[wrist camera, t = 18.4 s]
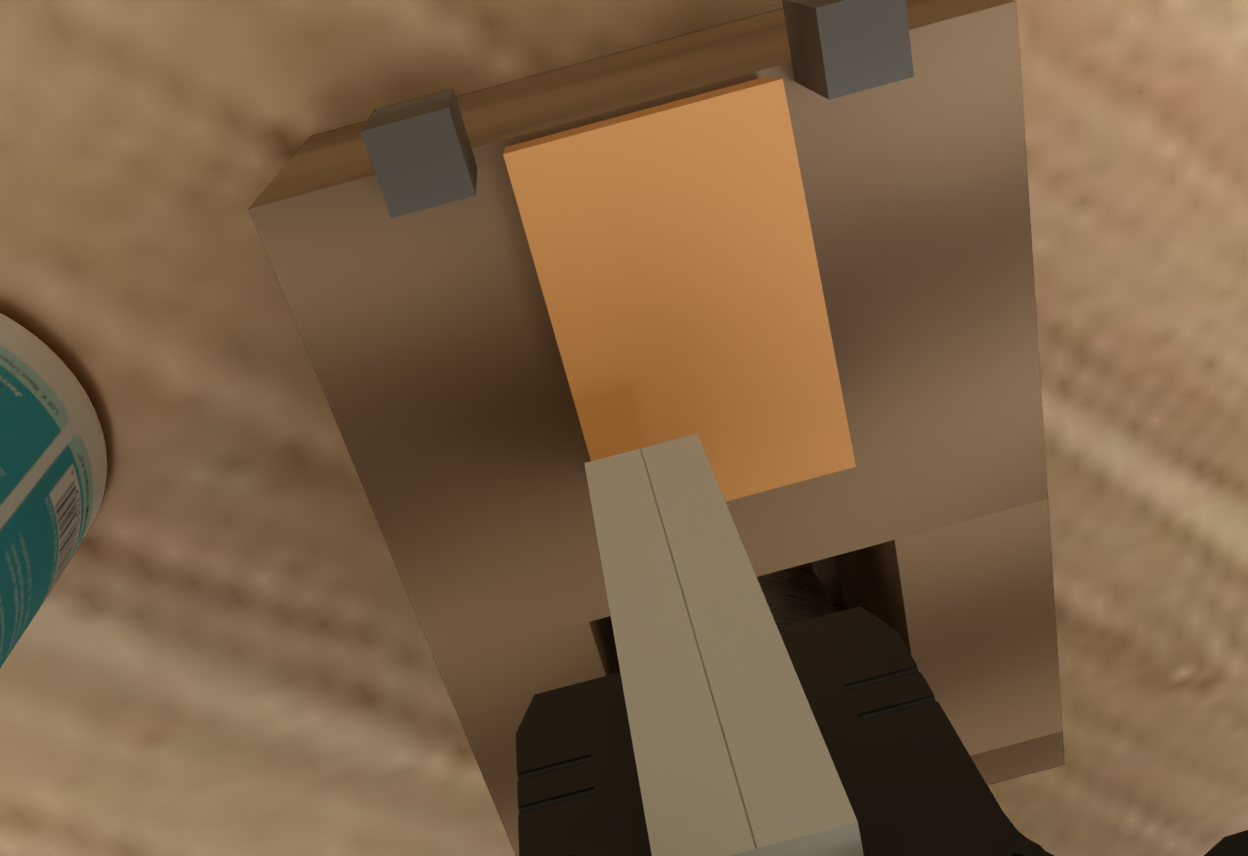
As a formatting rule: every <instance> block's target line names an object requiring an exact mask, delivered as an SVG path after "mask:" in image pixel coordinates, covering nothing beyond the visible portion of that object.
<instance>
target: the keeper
mask: <svg viewBox="0 0 1248 856" xmlns="http://www.w3.org/2000/svg"><path fill="white" fill-rule="evenodd" d="M503 156H504V159H505V163H506V166H507V170H508V173H509V177H510V180H511V184H512V187H513V191H514V194H515V198H516V201H517V205H518V208H519V212H520V215H521V219H522V222H523V226H524V229H525V233H526V236H527V240H528V243H529V247H530V250H531V254H532V257H533V261H534V264H535V268H536V271H537V274H538V278H539V281H540V285H541V288H542V292H543V295H544V299H545V302H546V306H547V309H548V313H549V316H550V320H551V323H552V327H553V330H554V334H555V337H556V341H557V344H558V348H559V351H560V355H561V358H562V362H563V365H564V369H565V372H566V376H567V379H568V383H569V386H570V389H571V393H572V396H573V400H574V403H575V407H576V410H577V414H578V417H579V421H580V424H581V428H582V431H583V435H584V438H585V442H586V445H587V449H588V452H589V456H590V459H591V461H594V460H598V459H602V458H606V457H609V456H613V455H617V454H621V453H625V452H629V451H632V450H636V449H640V448H644V447H648V446H652V445H656V444H659V443H663V442H667V441H671V440H675V439H679V438H682V437H686V436H690V435H694V434H698V437H699V439H700V442H701V444H702V446H703V449H704V451H705V454H706V456H707V459H708V461H709V463H710V466H711V468H712V471H713V473H714V475H715V478H716V480H717V483H718V485H719V488H720V490H721V492H722V495H723V497H724V500H725V502H726V501H730V500H734V499H738V498H741V497H745V496H749V495H752V494H756V493H760V492H764V491H767V490H771V489H775V488H779V487H782V486H786V485H790V484H793V483H797V482H801V481H805V480H808V479H812V478H816V477H819V476H823V475H827V474H831V473H834V472H838V471H842V470H846V469H849V468H853V467H856V464H855V459H854V453H853V448H852V443H851V438H850V432H849V427H848V422H847V416H846V411H845V406H844V400H843V395H842V390H841V385H840V379H839V374H838V369H837V363H836V358H835V353H834V347H833V342H832V337H831V331H830V326H829V321H828V316H827V310H826V305H825V300H824V294H823V289H822V284H821V278H820V273H819V268H818V263H817V257H816V252H815V247H814V241H813V236H812V231H811V225H810V220H809V215H808V210H807V204H806V199H805V194H804V188H803V183H802V178H801V172H800V167H799V162H798V157H797V151H796V146H795V141H794V135H793V130H792V125H791V119H790V114H789V109H788V104H787V98H786V93H785V88H784V82H783V79H781V78H770V77H762V78H759V79H755V80H751V81H747V82H744V83H740V84H736V85H733V86H729V87H725V88H722V89H718V90H714V91H711V92H707V93H703V94H699V95H696V96H692V97H688V98H685V99H681V100H677V101H674V102H670V103H666V104H663V105H659V106H655V107H652V108H648V109H644V110H640V111H637V112H633V113H629V114H626V115H622V116H618V117H615V118H611V119H607V120H604V121H600V122H596V123H592V124H589V125H585V126H581V127H578V128H574V129H570V130H567V131H563V132H559V133H556V134H552V135H548V136H544V137H541V138H537V139H533V140H530V141H526V142H522V143H519V144H515V145H511V146H508V147H505V149H504V153H503Z"/></svg>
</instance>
